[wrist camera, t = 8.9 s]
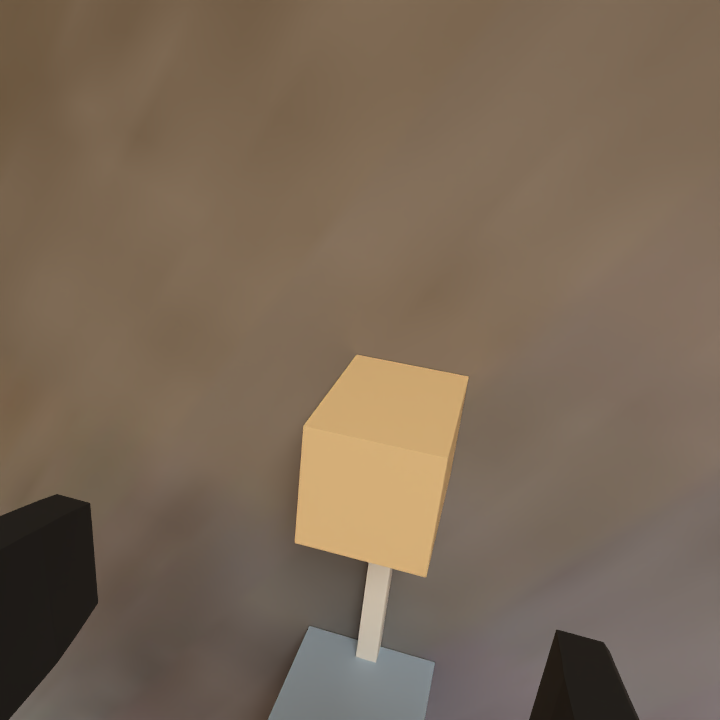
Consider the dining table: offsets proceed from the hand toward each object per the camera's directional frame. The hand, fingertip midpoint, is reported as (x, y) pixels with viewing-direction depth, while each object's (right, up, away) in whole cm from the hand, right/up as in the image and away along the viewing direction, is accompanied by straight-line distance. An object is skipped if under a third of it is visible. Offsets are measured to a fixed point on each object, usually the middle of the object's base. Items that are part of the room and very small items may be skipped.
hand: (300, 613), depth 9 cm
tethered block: (+2, -3, +11) cm, 12 cm away
